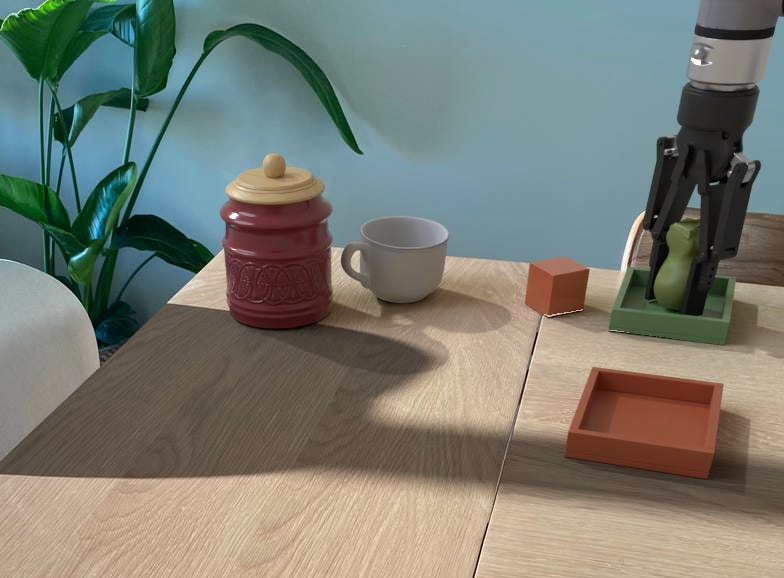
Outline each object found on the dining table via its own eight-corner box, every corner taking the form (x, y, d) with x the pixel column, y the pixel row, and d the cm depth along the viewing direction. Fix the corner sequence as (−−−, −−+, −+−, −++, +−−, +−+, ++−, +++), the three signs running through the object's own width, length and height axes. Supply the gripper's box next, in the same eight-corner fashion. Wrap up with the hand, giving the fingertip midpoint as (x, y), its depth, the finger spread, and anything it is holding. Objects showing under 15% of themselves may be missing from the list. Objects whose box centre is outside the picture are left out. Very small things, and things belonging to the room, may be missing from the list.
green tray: (724, 345, 108) (730, 322, 106) (608, 331, 112) (612, 309, 110) (730, 298, 118) (736, 276, 117) (624, 287, 122) (628, 266, 120)
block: (583, 311, 116) (589, 268, 113) (547, 318, 115) (553, 275, 112) (559, 297, 120) (565, 255, 117) (524, 303, 119) (529, 262, 115)
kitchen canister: (354, 314, 117) (355, 155, 106) (261, 340, 112) (252, 176, 101) (297, 283, 126) (292, 133, 115) (208, 305, 121) (194, 151, 110)
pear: (707, 312, 113) (729, 223, 107) (669, 320, 112) (688, 229, 105) (678, 296, 117) (697, 209, 111) (640, 303, 116) (657, 215, 110)
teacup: (423, 274, 127) (427, 210, 122) (459, 303, 119) (464, 236, 114) (323, 289, 124) (322, 224, 119) (353, 320, 116) (353, 252, 111)
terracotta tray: (707, 479, 86) (714, 453, 85) (563, 457, 90) (568, 431, 88) (717, 407, 97) (723, 383, 95) (588, 390, 100) (592, 366, 99)
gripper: (634, 71, 105) (598, 286, 120) (758, 104, 92) (700, 341, 107) (691, 64, 107) (648, 276, 122) (820, 95, 94) (754, 329, 109)
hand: (672, 306), depth 114 cm, fingers closed on pear, 6 cm apart
